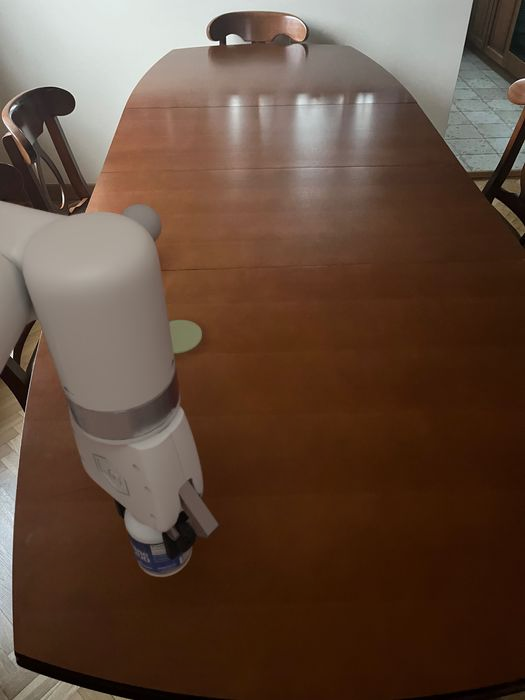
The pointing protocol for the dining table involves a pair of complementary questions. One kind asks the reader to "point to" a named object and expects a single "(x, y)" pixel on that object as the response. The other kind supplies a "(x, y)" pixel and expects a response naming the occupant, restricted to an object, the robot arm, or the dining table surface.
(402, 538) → the dining table surface
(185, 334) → the coaster
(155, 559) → the pill bottle
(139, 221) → the lollipop
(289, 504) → the dining table surface
